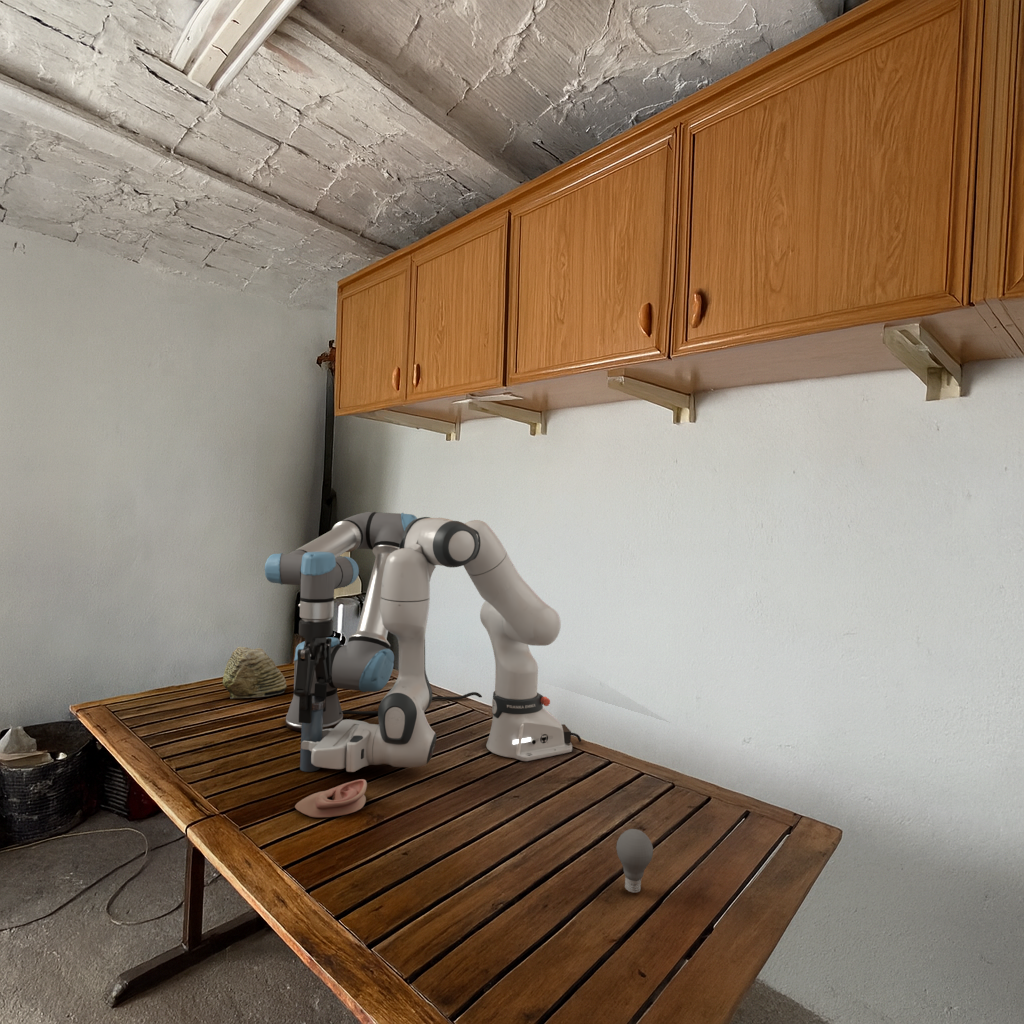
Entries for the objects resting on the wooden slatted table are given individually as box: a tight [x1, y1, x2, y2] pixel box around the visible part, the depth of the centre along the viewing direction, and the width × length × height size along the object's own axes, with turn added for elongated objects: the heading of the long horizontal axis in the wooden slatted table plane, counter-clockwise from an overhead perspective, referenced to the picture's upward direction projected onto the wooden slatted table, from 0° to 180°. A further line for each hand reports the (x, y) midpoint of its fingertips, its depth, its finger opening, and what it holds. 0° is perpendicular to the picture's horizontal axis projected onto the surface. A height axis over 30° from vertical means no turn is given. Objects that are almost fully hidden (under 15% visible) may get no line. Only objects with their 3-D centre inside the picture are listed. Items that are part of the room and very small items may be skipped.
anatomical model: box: [294, 778, 368, 819], centre depth 130 cm, size 13×4×12 cm
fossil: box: [222, 646, 288, 699], centre depth 198 cm, size 9×18×15 cm, turn 132°
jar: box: [299, 708, 324, 773], centre depth 148 cm, size 5×5×15 cm
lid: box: [312, 696, 326, 711], centre depth 147 cm, size 6×6×2 cm
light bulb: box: [615, 828, 654, 894], centre depth 106 cm, size 6×6×10 cm
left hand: (312, 716), depth 148 cm, fingers open, 7 cm apart
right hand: (307, 739), depth 148 cm, fingers closed on jar, 5 cm apart
